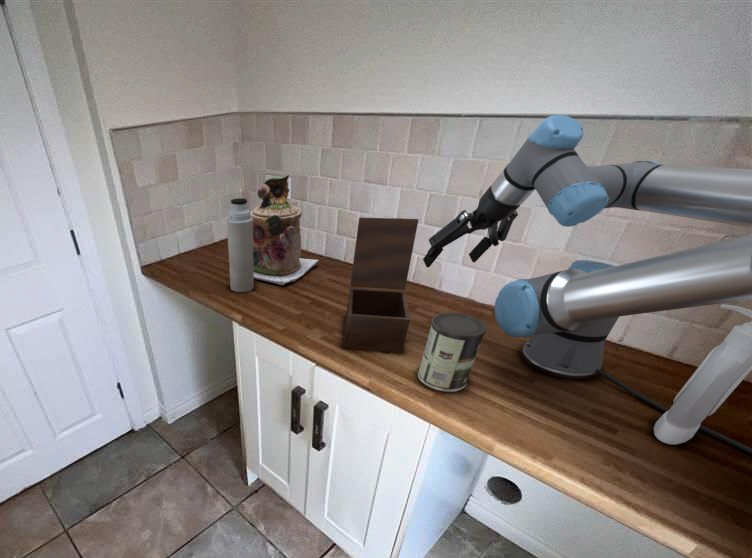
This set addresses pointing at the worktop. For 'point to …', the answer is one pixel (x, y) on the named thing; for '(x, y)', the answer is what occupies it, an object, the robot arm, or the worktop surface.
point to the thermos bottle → (240, 246)
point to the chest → (376, 320)
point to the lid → (383, 252)
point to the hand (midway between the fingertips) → (449, 260)
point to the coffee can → (451, 351)
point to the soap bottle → (709, 384)
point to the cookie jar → (277, 236)
